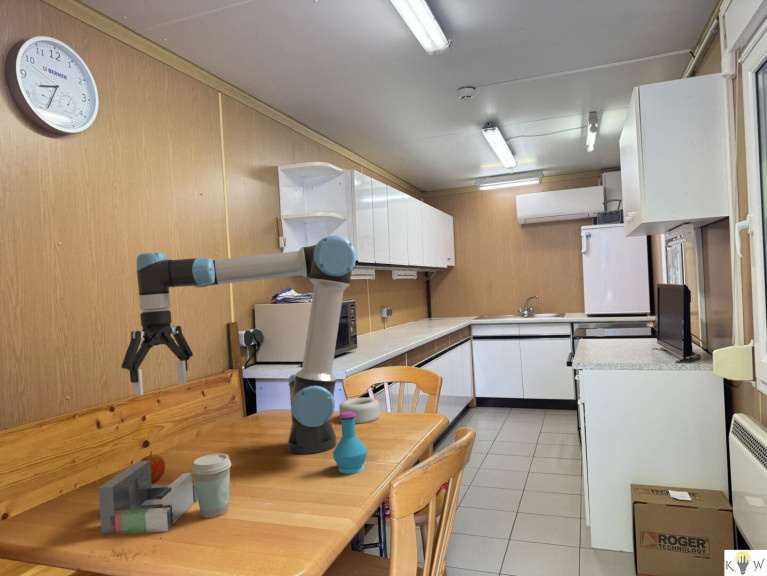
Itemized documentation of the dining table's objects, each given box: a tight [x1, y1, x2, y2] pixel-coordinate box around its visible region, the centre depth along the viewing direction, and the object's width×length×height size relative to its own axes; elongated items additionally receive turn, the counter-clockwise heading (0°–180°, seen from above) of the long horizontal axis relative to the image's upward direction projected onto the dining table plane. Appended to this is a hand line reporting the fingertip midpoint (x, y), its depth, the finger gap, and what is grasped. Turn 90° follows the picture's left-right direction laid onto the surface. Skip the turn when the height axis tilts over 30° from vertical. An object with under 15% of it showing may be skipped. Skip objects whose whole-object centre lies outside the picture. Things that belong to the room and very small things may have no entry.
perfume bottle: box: [332, 411, 368, 474], centre depth 133 cm, size 9×9×15 cm
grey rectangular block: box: [140, 472, 195, 525], centre depth 110 cm, size 9×14×7 cm, turn 179°
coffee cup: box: [190, 453, 232, 519], centre depth 112 cm, size 9×9×12 cm
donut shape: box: [338, 397, 381, 425], centre depth 185 cm, size 15×15×7 cm
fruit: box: [139, 451, 166, 484], centre depth 134 cm, size 7×7×8 cm
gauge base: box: [98, 460, 198, 536], centre depth 112 cm, size 14×16×10 cm
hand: (161, 389), depth 134 cm, fingers open, 13 cm apart
